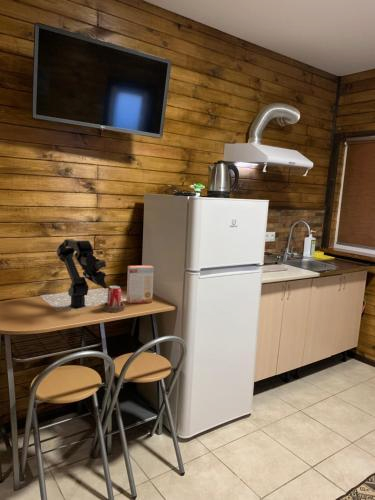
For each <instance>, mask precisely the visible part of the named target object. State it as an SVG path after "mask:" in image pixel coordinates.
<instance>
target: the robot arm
mask: <svg viewBox="0 0 375 500" xmlns="http://www.w3.org/2000/svg"><path fill="white" fill-rule="evenodd" d="M94 252H95V250H94V248H93V246H92V243H91V242H90V241H89V240H75V239H71V238H68V239H67V238H66V239H64V240H63V241H62V243H61V244H59V246H58V248H57V250H56V255H57V258H59V260H60V261H61V262H63V263H64V266H65V269H66V270H67V273H68V275H69V279H70V281H71V284H70V287H69V289H68V291H67V292H68V293H67V294H68V296H70V304H69V305H68V307H71V308H73V309H80V308H85V307H87V305H86V296H88V292H89V284H88V282H87V281H90V282H92V283H94V284H96V285H97V286H100V287H102V288H103V289H107V288H108V286H107V284H106V281H105V278H106V276H107V274H106V273H105V272H104V271H102V270H100V269H103V268H106V267H107V264H106V260H104V259H99V258H97V257H96V256H95V255H94V254H95V253H94ZM73 257H74V259H75V260H76V261H77V263H78V265H79V266H80V267H81V270H83V271H82V276H83V277H82V276H81V275H80V273H79V271H78V268H77V266H76V264H75V262H74V259H73Z"/></svg>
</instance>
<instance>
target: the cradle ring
mask: <svg viewBox="0 0 375 500" xmlns="http://www.w3.org/2000/svg"><path fill="white" fill-rule="evenodd" d="M102 308H103V311H105V312H108V313H121V312H124V311H125V310H126V304H125V302H122V301H121V305H120V307H109V306H107V301H105V302H104V303H103V307H102Z"/></svg>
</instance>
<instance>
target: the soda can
mask: <svg viewBox="0 0 375 500" xmlns="http://www.w3.org/2000/svg"><path fill="white" fill-rule="evenodd" d="M106 302H107V306H109V307H120V305H121V302H122V289H121V286H119V285H109V286H108V289H107V300H106Z"/></svg>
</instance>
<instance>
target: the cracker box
mask: <svg viewBox="0 0 375 500" xmlns="http://www.w3.org/2000/svg"><path fill="white" fill-rule="evenodd" d="M154 269H155V268H154V266H153V265H127V279H126V302H127V304H143V303H144V304H146V303H148V304H149V303H153V290H154V272H155V271H154Z"/></svg>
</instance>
